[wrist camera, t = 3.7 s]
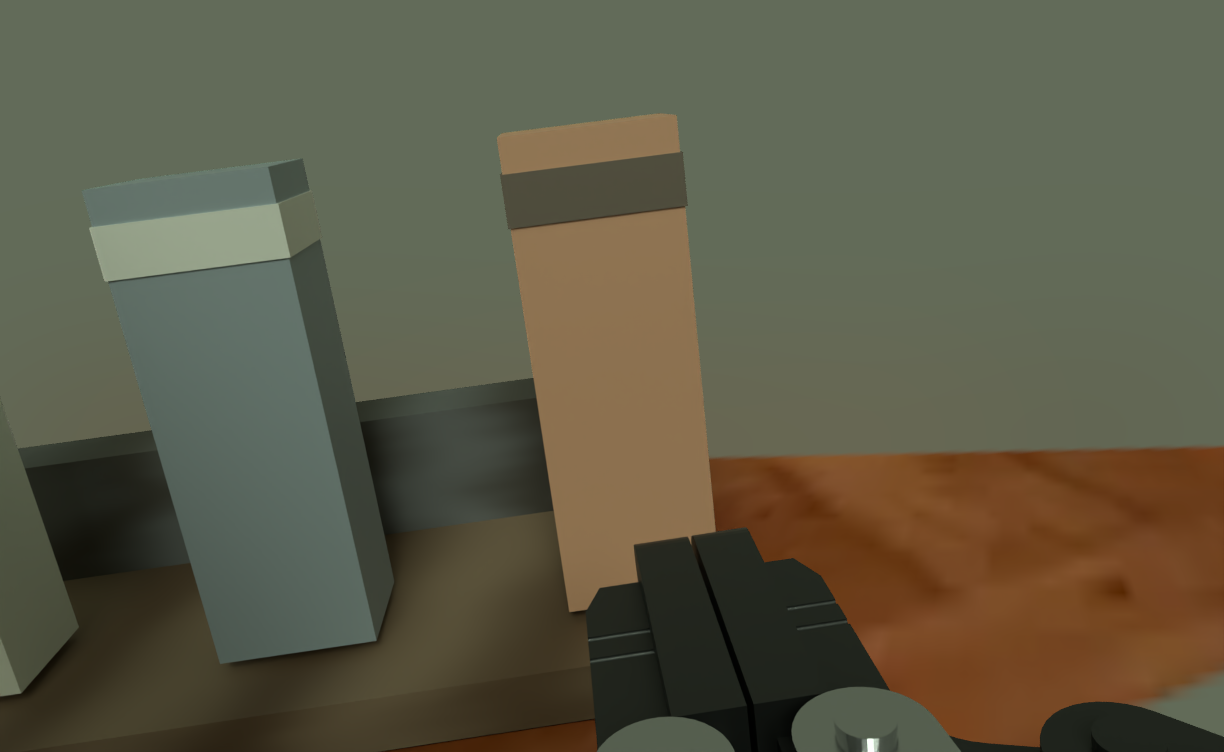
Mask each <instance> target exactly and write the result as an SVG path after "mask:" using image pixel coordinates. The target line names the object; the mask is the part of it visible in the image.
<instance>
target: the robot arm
mask: <svg viewBox="0 0 1224 752" xmlns="http://www.w3.org/2000/svg"><path fill="white" fill-rule="evenodd" d="M634 555H635V563H636V571H637V578H638V582H635V583H629V584H622V585H616V586H609V587H602V588H599V590H598V592H597V593H596V595H595V597H594V598H593V600H592V602H591V604H590V605H589V607H588V609H587V610H586V612H585V613H586V624H587V635H588V646H589V657H590V668H591V679H592V690H593V701H594V712H595V724H596V735H597V746H598V747H597V752H1224V737H1222V736H1220V735H1217V734H1214V733H1211V732H1209V731H1206V730H1203V729H1201V728H1198V727H1195V726H1193V725H1190V724H1187V723H1184V722H1181V721H1179V720H1176V719H1173V718H1171V717H1168V716H1165V715H1162V714H1160V713H1157V712H1154V711H1151V710H1148V709H1145V708H1142V707H1137V706H1133V705H1128V704H1122V703H1114V702H1088V703H1081V704H1076V705H1072V706H1069V707H1066V708H1064V709H1061V710H1060V711H1058V712H1056V713H1054V714H1053V715H1052V716H1051V717H1050V718H1049V719H1048V720H1047V721H1046V722H1045V724H1044V726H1043V727H1042V731H1041V735H1040V747H1027V746H1014V745H1001V744H988V743H980V742H972V741H967V740H963V739H958V738H955V737H952V736H949V735H948V734H947V733H946V731H945V730H944V729H943V728H942V726H941V725H940V724H939V722H938V721H937V720H936V719H935V717H934V716H933V715H932V714H931V713H930V712H929V711H928V710H927V709H925V708H924V707H923V706H922V705H920V704H919V703H917V702H915V701H914V700H912V699H910V698H908V697H906V696H903V695H901V694H899V693H895V692H892V691H890V690H889V688H888V686H887V685H886V683H885V681H884V680H883V678H882V676H881V675H880V673H879V671H878V670H877V668H876V666H875V665H874V663H873V661H872V660H871V658H870V656H869V655H868V653H867V651H866V650H865V648H864V647H863V645H862V643H861V642H860V640H859V638H858V637H857V635H856V633H855V632H854V630H853V628H852V627H851V625H850V624H848V623H847V618H846V617H845V615H844V613H843V612H842V610H841V608H840V607H839V605H838V604H836V602H835V598H834V597H833V595H832V593H831V592H830V590H829V588H828V587H827V585H826V583H825V582H824V580H823V578H822V577H821V576H820V575H819V574H817V573H816V572H814V571H812V570H811V569H809V568H808V567H806V566H805V565H803V564H801V563H800V562H798V561H797V560H795V559H793V558H791V559H785V560H778V561H772V562H765V563H764V561H763V559H762V557H761V555H760V553H759V551H758V549H757V547H756V545H755V543H754V541H753V539H752V537H751V535H750V533H749V531H748V529H747V528H738V529H732V530H725V531H718V532H712V533H705V534H699V535H692V536H691V543H690V540H689V538H688V537H680V538H673V539H667V540H660V541H653V542H647V543H640V544H634Z"/></svg>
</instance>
